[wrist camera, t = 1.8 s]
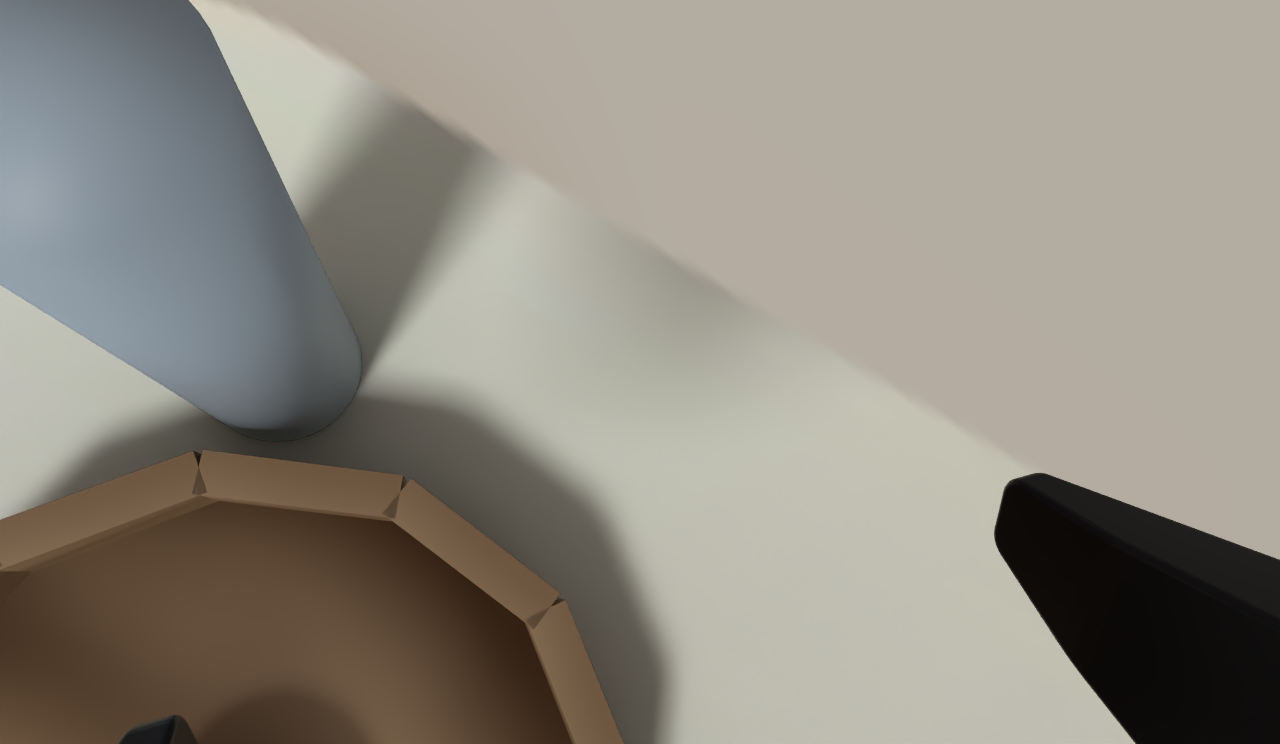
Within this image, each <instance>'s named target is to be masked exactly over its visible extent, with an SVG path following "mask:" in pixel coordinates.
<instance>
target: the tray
mask: <svg viewBox="0 0 1280 744" xmlns="http://www.w3.org/2000/svg"><path fill="white" fill-rule="evenodd" d="M559 594H560V592H558V591H557V590H556V589H554V588H553V587H552V586H551V585H549V584H548V583H547V582H545V581H544V580H543V579H541V578H540V577H539V576H538V575H536V574H535V573H534V572H532V571H531V570H530V569H528V568H527V567H526V566H524V565H523V564H522V563H521V562H519V561H518V560H517V559H515V558H514V557H513V556H511V555H510V554H509V553H508V552H506V551H505V550H504V549H502V548H501V547H500V546H498V545H497V544H496V543H494V542H493V541H492V540H491V539H489V538H488V537H487V536H485V535H484V534H483V533H481V532H480V531H479V530H478V529H476V528H475V527H474V526H472V525H471V524H470V523H468V522H467V521H466V520H464V519H463V518H462V517H461V516H459V515H458V514H457V513H455V512H454V511H453V510H451V509H450V508H449V507H448V506H446V505H445V504H444V503H442V502H441V501H440V500H438V499H437V498H436V497H434V496H433V495H432V494H431V493H429V492H428V491H427V490H425V489H424V488H423V487H421V486H420V485H419V484H418V483H416V482H415V481H414V480H412V479H410V481H409V482H408V483H407V481H406V479H405V478H404V476H403V475H397V474H389V473H381V472H373V471H366V470H358V469H350V468H342V467H334V466H327V465H319V464H311V463H303V462H295V461H287V460H280V459H272V458H264V457H256V456H248V455H241V454H233V453H225V452H217V451H209V450H203V451H202V455H201V454H199V453H197V452H195V451H191V452H188V453H185V454H183V455H180V456H177V457H174V458H171V459H169V460H166V461H163V462H160V463H158V464H155V465H152V466H149V467H146V468H144V469H141V470H138V471H135V472H132V473H130V474H127V475H124V476H121V477H119V478H116V479H113V480H110V481H107V482H105V483H102V484H99V485H96V486H93V487H91V488H88V489H85V490H82V491H80V492H77V493H74V494H71V495H68V496H66V497H63V498H60V499H57V500H55V501H52V502H49V503H46V504H43V505H41V506H38V507H35V508H32V509H29V510H27V511H24V512H21V513H18V514H16V515H13V516H10V517H7V518H4V519H2V520H0V744H118V742H119V741H120V739H121V738H122V737H123V735H124V734H125V733H126V732H127V731H128V730H129V729H131V728H132V727H134V726H136V725H138V724H141V723H145V722H148V721H152V720H156V719H159V718H163V717H166V716H170V715H180V716H182V717H183V718H184V719H185V720H186V721H187V723H188V725H189V727H190V728H191V730H192V732H193V734H194V736H195V738H196V740H197V742H198V744H624V743H623V740H622V738H621V735H620V733H619V730H618V728H617V725H616V723H615V720H614V718H613V716H612V713H611V711H610V708H609V706H608V703H607V701H606V698H605V696H604V693H603V691H602V688H601V686H600V683H599V681H598V679H597V676H596V674H595V671H594V669H593V666H592V664H591V661H590V659H589V656H588V654H587V651H586V649H585V646H584V644H583V641H582V639H581V637H580V634H579V632H578V629H577V627H576V624H575V622H574V619H573V617H572V614H571V612H570V609H569V607H568V604H567V602H566V600H564V599H560V598H559V599H557V597H558V596H559Z"/></svg>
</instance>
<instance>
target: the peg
mask: <svg viewBox="0 0 1280 744" xmlns="http://www.w3.org/2000/svg"><path fill="white" fill-rule="evenodd" d="M0 285H1V286H3V287H4V288H6V289H8V290H9V291H11V292H13V293H14V294H16V295H17V296H19V297H21V298H22V299H24V300H25V301H27V302H29V303H30V304H32V305H34V306H35V307H37V308H38V309H40V310H42V311H43V312H45V313H46V314H48V315H50V316H51V317H53V318H55V319H56V320H58V321H59V322H61V323H63V324H64V325H66V326H67V327H69V328H71V329H72V330H74V331H75V332H77V333H79V334H80V335H82V336H84V337H85V338H87V339H88V340H90V341H92V342H93V343H95V344H96V345H98V346H100V347H101V348H103V349H105V350H106V351H108V352H109V353H111V354H113V355H114V356H116V357H117V358H119V359H121V360H122V361H124V362H125V363H127V364H129V365H130V366H132V367H134V368H135V369H137V370H138V371H140V372H142V373H143V374H145V375H146V376H148V377H150V378H151V379H153V380H155V381H156V382H158V383H159V384H161V385H163V386H164V387H166V388H167V389H169V390H171V391H172V392H174V393H176V394H177V395H179V396H180V397H182V398H184V399H185V400H187V401H188V402H190V403H192V404H193V405H195V406H196V407H198V408H200V409H201V410H203V411H205V412H206V413H208V414H209V415H211V416H213V417H214V418H216V419H217V420H219V421H221V422H222V423H224V424H226V425H227V426H229V427H230V428H232V429H234V430H235V431H237V432H239V433H241V434H243V435H246V436H249V437H252V438H255V439H260V440H265V441H289V440H295V439H299V438H303V437H306V436H309V435H311V434H313V433H316V432H318V431H320V430H321V429H323V428H325V427H327V426H328V425H329V424H331V423H332V422H333V421H334V420H336V419H337V418H338V417H339V416H340V415H341V414H342V413H343V412H344V410H345V409H346V408H347V407H348V405H349V404H350V402H351V401H352V399H353V397H354V395H355V393H356V391H357V388H358V386H359V382H360V378H361V371H362V356H361V350H360V346H359V343H358V340H357V338H356V336H355V334H354V331H353V329H352V327H351V325H350V323H349V321H348V319H347V317H346V315H345V312H344V310H343V308H342V306H341V304H340V302H339V300H338V298H337V296H336V294H335V291H334V289H333V287H332V285H331V283H330V281H329V279H328V277H327V275H326V272H325V270H324V268H323V266H322V264H321V262H320V260H319V258H318V256H317V253H316V251H315V249H314V247H313V245H312V243H311V241H310V239H309V237H308V234H307V232H306V230H305V228H304V226H303V224H302V222H301V220H300V218H299V215H298V213H297V211H296V209H295V207H294V205H293V203H292V201H291V199H290V197H289V194H288V192H287V190H286V188H285V186H284V184H283V182H282V180H281V178H280V175H279V173H278V171H277V169H276V167H275V165H274V163H273V161H272V159H271V156H270V154H269V152H268V150H267V148H266V146H265V144H264V142H263V140H262V137H261V135H260V133H259V131H258V129H257V127H256V125H255V123H254V121H253V118H252V116H251V114H250V112H249V110H248V108H247V106H246V104H245V102H244V100H243V97H242V95H241V93H240V91H239V89H238V87H237V85H236V83H235V81H234V78H233V76H232V74H231V72H230V70H229V68H228V66H227V64H226V62H225V59H224V57H223V55H222V53H221V51H220V49H219V47H218V45H217V43H216V40H215V38H214V36H213V34H212V32H211V30H210V28H209V27H208V25H207V24H206V22H205V21H204V19H203V18H202V16H201V15H200V13H199V12H198V11H197V10H196V8H195V7H194V6H193V5H192V4H191V3H190V2H189V0H0Z"/></svg>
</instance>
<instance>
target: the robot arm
mask: <svg viewBox="0 0 1280 744" xmlns="http://www.w3.org/2000/svg"><path fill="white" fill-rule="evenodd" d="M994 538H995V542H996V546H997V548H998V550H999V552H1000V554H1001V556H1002V557H1003V559H1004V560H1005V562H1006V563H1007V565H1008V566H1009V568H1010V569H1011V571H1012V573H1013V574H1014V576H1015V577H1016V579H1017V580H1018V582H1019V583H1020V585H1021V586H1022V588H1023V589H1024V591H1025V593H1026V594H1027V596H1028V597H1029V599H1030V600H1031V602H1032V603H1033V605H1034V606H1035V608H1036V609H1037V611H1038V612H1039V614H1040V616H1041V617H1042V619H1043V620H1044V622H1045V623H1046V625H1047V626H1048V628H1049V629H1050V631H1051V632H1052V634H1053V636H1054V637H1055V639H1056V640H1057V642H1058V643H1059V645H1060V646H1061V648H1062V649H1063V650H1064V652H1065V653H1066V655H1067V656H1068V658H1069V659H1070V661H1071V662H1072V663H1073V665H1074V666H1075V667H1076V669H1077V670H1078V671H1079V673H1080V674H1081V675H1082V677H1083V678H1084V679H1085V680H1086V682H1087V683H1088V684H1089V685H1090V687H1091V688H1092V689H1093V691H1094V692H1095V693H1096V694H1097V696H1098V697H1099V698H1100V699H1101V701H1102V702H1103V703H1104V704H1105V706H1106V707H1107V708H1108V709H1109V711H1110V712H1111V713H1112V714H1113V716H1114V717H1115V718H1116V720H1117V721H1118V722H1119V723H1120V725H1121V726H1122V727H1123V728H1124V730H1125V731H1126V732H1127V733H1128V735H1129V736H1130V737H1131V738H1132V740H1133V741H1134V742H1135V743H1136V744H1280V560H1279V559H1276V558H1273V557H1271V556H1268V555H1265V554H1262V553H1260V552H1257V551H1254V550H1252V549H1249V548H1246V547H1243V546H1240V545H1238V544H1235V543H1233V542H1230V541H1227V540H1224V539H1222V538H1219V537H1216V536H1214V535H1211V534H1208V533H1205V532H1203V531H1200V530H1197V529H1195V528H1192V527H1189V526H1186V525H1183V524H1181V523H1178V522H1176V521H1173V520H1170V519H1167V518H1165V517H1162V516H1159V515H1156V514H1154V513H1151V512H1148V511H1146V510H1143V509H1140V508H1138V507H1135V506H1132V505H1129V504H1127V503H1124V502H1121V501H1119V500H1116V499H1113V498H1110V497H1108V496H1105V495H1102V494H1099V493H1097V492H1094V491H1091V490H1089V489H1086V488H1083V487H1080V486H1078V485H1075V484H1072V483H1070V482H1067V481H1064V480H1062V479H1059V478H1056V477H1053V476H1051V475H1048V474H1044V473H1034V474H1030V475H1027V476H1023V477H1020V478H1016V479H1013V480H1011V481H1009V483H1008V484H1007V485H1006V486H1005V489H1004V492H1003V496H1002V500H1001V504H1000V508H999V513H998V517H997V521H996V525H995V530H994ZM118 744H198V742H197V740H196V738H195V736H194V734H193V732H192V730H191V728H190V727H189V725H188V723H187V721H186V720H185V719H184V718H183V717H182V716H180V715H170V716H166V717H163V718H159V719H156V720H152V721H148V722H145V723H141V724H138V725H136V726H134V727H132V728H131V729H129V730H128V731H127V732H126V733H125V734H124V735H123V737H122V738H121V739H120V741H119V742H118Z"/></svg>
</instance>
